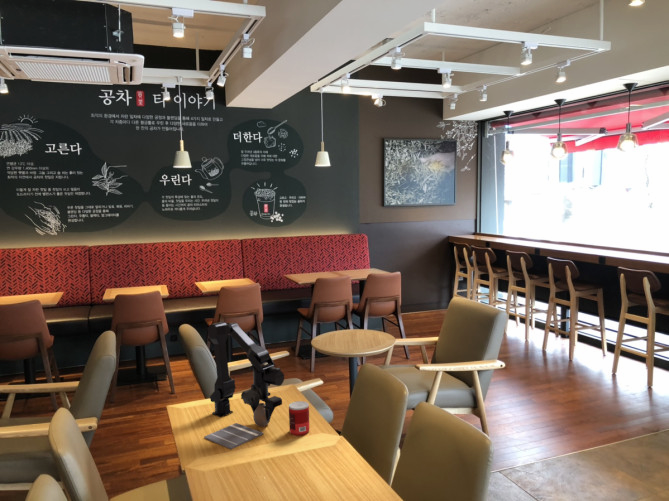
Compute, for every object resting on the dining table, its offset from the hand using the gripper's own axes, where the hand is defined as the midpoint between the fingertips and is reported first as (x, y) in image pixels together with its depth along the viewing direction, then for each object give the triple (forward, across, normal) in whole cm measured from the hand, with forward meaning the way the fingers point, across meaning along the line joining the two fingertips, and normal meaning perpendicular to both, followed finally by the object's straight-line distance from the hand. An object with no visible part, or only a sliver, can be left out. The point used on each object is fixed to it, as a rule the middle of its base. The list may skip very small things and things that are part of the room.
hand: (261, 418), depth 214 cm
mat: (+2, -1, -14) cm, 14 cm away
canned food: (+3, +17, +4) cm, 18 cm away
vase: (+3, 0, 0) cm, 3 cm away
